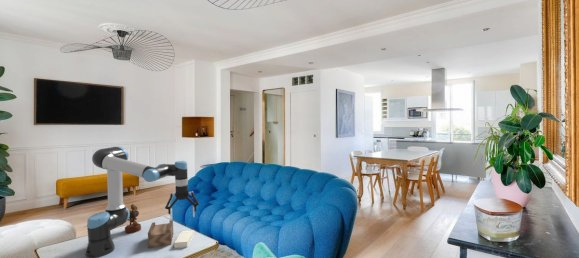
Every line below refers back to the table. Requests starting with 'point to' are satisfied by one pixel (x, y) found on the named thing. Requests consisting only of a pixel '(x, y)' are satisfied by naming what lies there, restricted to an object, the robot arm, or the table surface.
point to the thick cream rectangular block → (184, 239)
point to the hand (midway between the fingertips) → (182, 217)
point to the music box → (133, 221)
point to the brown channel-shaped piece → (160, 234)
